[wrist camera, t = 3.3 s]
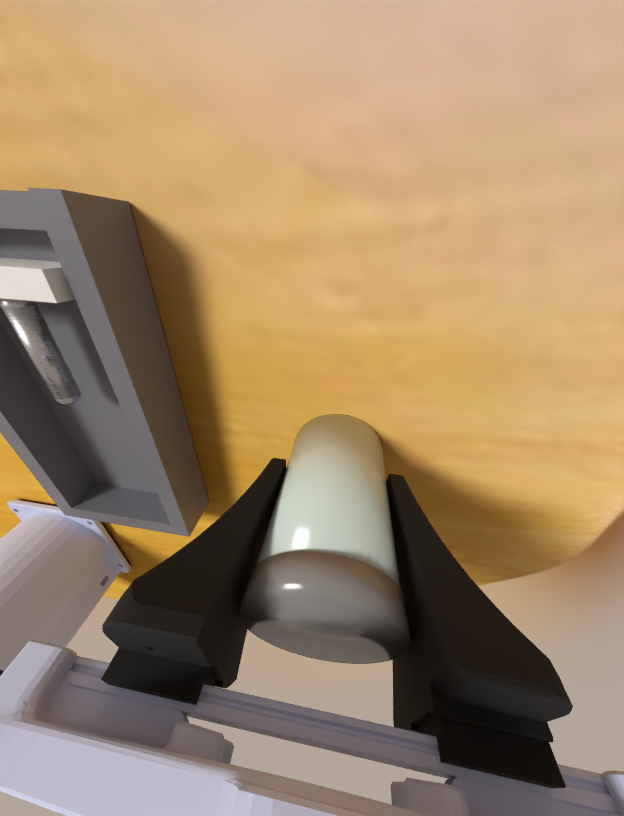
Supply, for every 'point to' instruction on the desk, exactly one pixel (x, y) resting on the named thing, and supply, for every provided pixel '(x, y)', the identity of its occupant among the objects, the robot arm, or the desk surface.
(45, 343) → the pusher
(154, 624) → the robot arm
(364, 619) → the jar
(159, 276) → the desk surface
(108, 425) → the pusher lane
